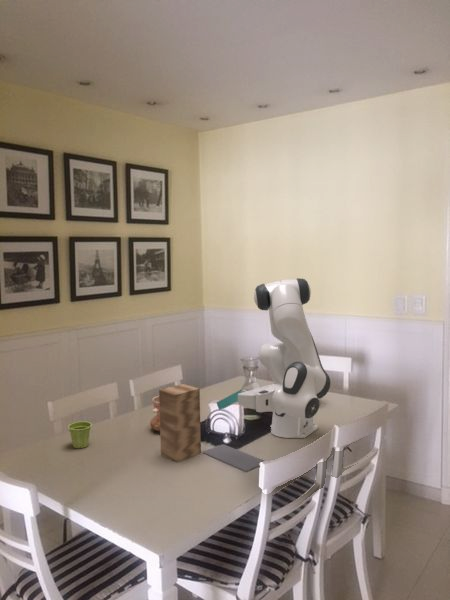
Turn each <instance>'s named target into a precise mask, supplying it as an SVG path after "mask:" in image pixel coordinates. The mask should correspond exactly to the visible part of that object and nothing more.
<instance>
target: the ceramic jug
mask: <svg viewBox="0 0 450 600" xmlns="http://www.w3.org/2000/svg"><path fill="white" fill-rule="evenodd" d="M152 406H153V409H152V413H154V414H155V413H156V415H154V416H153V417H152V418H151V420H150V422H149V424H150V427H151V429H153V430H154V431H156V432H159V433H160V403H159V395H157V396H154V397H153V398H152Z"/></svg>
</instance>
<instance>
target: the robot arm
mask: <svg viewBox="0 0 450 600" xmlns="http://www.w3.org/2000/svg"><path fill="white" fill-rule="evenodd" d="M311 293H312V292H311V286H310V284H309V282H308V281H307V280H306V279H305V278H296V279H295V278H291V279H280V280H278V281H276V280H275V281H272V282H268V283H261V284H259V285H256V287H255V289H254V293H253V300H254V303H255V305H256V306H257V308H258V309H259V310H260V311H268V314H269V316H268V317H269V324H270V331H271V335H272V336H273V337H274V338H275V339H276V340H278V341H280V342H268V343H264V344H261V346H260V348H259V350H258V355H257V357H258V360H259V362H260V364H261V365H262V366H263V367H264V368H265V369H266V370H267V371H268V373H269V375H270V377H271V379H272V382H273V383H270V384H268V385H264V386H260V388H257V389H253V390H249V391H248V390H246V389H243V388H242V389H243V390H241V389H240V390H241V393H239V394H238V402H237V404H238V405H240V406H241V407H244V408H247V409H251V410H255V411H256V413H257V412H258V413H266V412H272V416H271V417H272V419H271V424H270V426H269V428H270V427H271V428H270V433H271V434H272V435H273V436H275V437H279V438H285V439H294V438H295V439H296V438H297V439H305V438H306V437H308V436H310V435H311V434H312V433H314V432H315V431H316V430H318V429H319V425H318V424H316V422H314V416H315V415H316V414H317V413H318V411H319V409H320V404H321V403H320V399H323V398H324V397H325V396H326V395H327V393H328V392H329V391H330V387H331V379H330V375H329V374H328V373H327V372H326V370H325V369H324V367H323V365H322V364H323V363H322V362H321V359H320V355H319V352H318V348H317V345H316V343H315V340H314V338H313V335H312V333H311V330H310V328H309V325H308V322H307V319H306V315H305V311H304V308H303V305H305V304H308V302H309V301H310V300H311Z"/></svg>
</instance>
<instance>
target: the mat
mask: <svg viewBox="0 0 450 600" xmlns="http://www.w3.org/2000/svg"><path fill="white" fill-rule="evenodd" d="M202 454H204V455H206V456H208V457H211V458H213V459H215V460H218V461H220V462H222V463H224V464H227V465H229V466H231V467H233V468H236V469H238V470H240V471H242V472H244V473H248V472H250V471H252V470H254V469H257V468H260V466H259V463H260V462H263V461H265V460H264V459H261V458H258V457H256V456H253V455H251V454H250V453H249V454H248V453H246V452H245V451H242V450H239V449H236V448H233V447H232V446H229V445H227V444H224V443H222V444H219V445H217V446H214V447H212V448H209V449H207V450H204V451H202Z"/></svg>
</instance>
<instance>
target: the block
mask: <svg viewBox="0 0 450 600" xmlns="http://www.w3.org/2000/svg"><path fill="white" fill-rule="evenodd" d="M260 387H261V386H260V385H259V382H258V381H256V382H254V383H251V384H249V385H247V386H245V387H243V388H241V389H240V390H237V391H236V392H234V393H231V394H230V395H228V396H226V397H224V398H223V399H221V400H219V401H216V405H217V408H218V410H224V409H226V408H228V407H230V406H232V405H234V404H236V403H238V394H239V393H241V390H243V389H246V390H248V391H249V390H253V389H257V388H260Z"/></svg>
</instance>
